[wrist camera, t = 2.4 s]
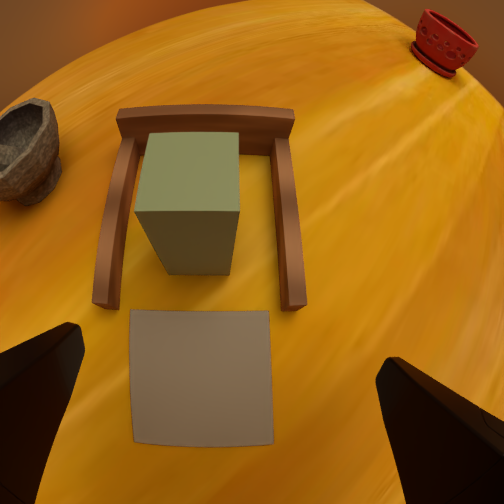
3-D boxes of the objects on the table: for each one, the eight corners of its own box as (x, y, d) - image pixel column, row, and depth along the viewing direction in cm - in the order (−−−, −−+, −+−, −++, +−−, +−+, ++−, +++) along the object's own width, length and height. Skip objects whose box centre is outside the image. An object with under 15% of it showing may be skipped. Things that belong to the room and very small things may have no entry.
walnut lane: (297, 310, 21) (319, 297, 16) (104, 308, 19) (75, 294, 14) (281, 146, 26) (293, 109, 21) (130, 146, 24) (119, 109, 20)
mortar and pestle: (58, 129, 24) (21, 48, 13) (92, 171, 23) (43, 73, 12) (-12, 194, 21) (-69, 132, 10) (9, 251, 19) (-73, 188, 8)
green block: (229, 275, 21) (239, 211, 12) (168, 274, 21) (134, 211, 11) (228, 220, 23) (238, 132, 13) (172, 219, 22) (149, 133, 13)
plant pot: (399, 38, 44) (418, 1, 32) (445, 63, 44) (466, 30, 33) (411, 63, 39) (436, 19, 28) (461, 92, 39) (488, 55, 28)
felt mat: (273, 442, 17) (273, 443, 17) (135, 440, 16) (134, 441, 16) (267, 311, 21) (268, 310, 20) (131, 310, 19) (130, 309, 19)
